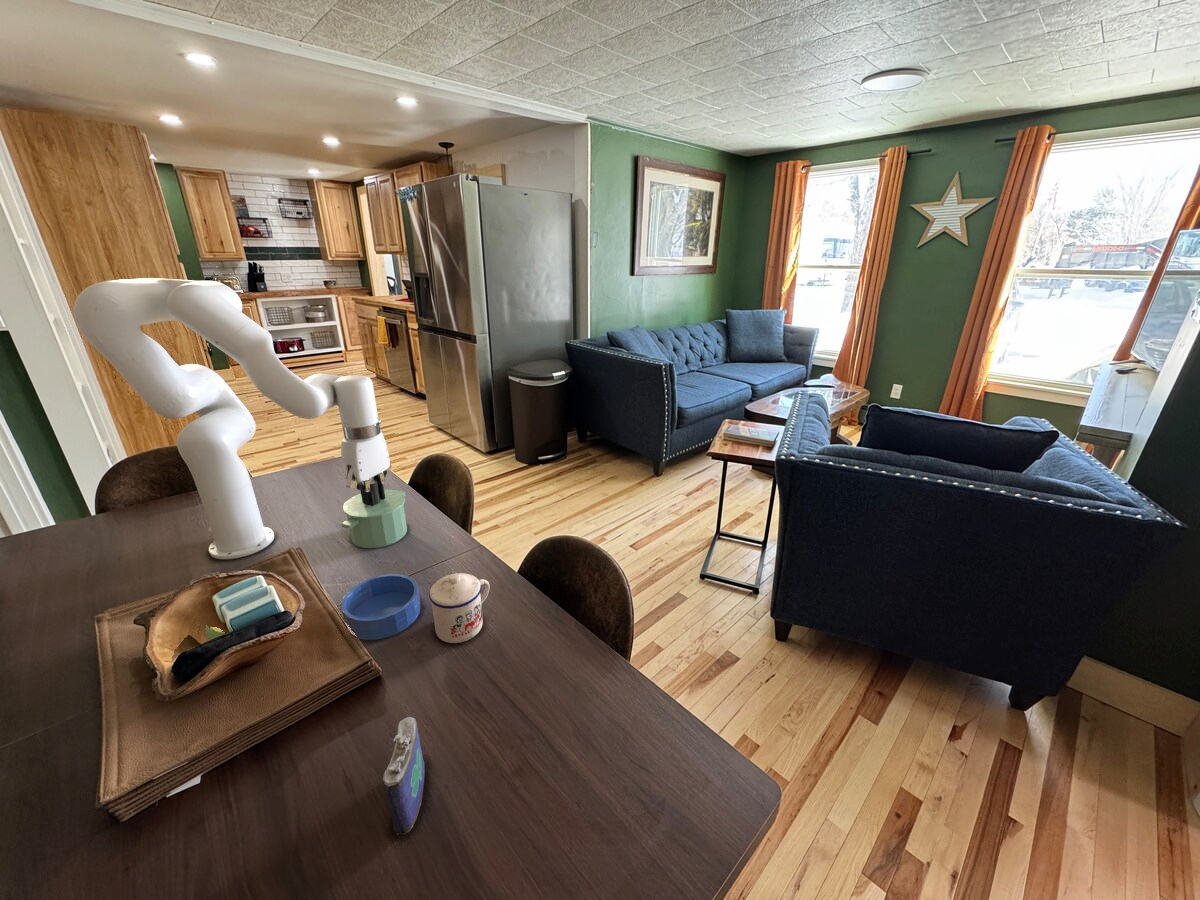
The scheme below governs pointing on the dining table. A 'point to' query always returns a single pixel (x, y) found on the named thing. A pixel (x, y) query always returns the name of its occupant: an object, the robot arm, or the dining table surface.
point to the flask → (405, 777)
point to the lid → (381, 507)
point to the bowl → (381, 606)
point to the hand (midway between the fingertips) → (374, 500)
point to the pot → (377, 529)
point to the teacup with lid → (458, 606)
